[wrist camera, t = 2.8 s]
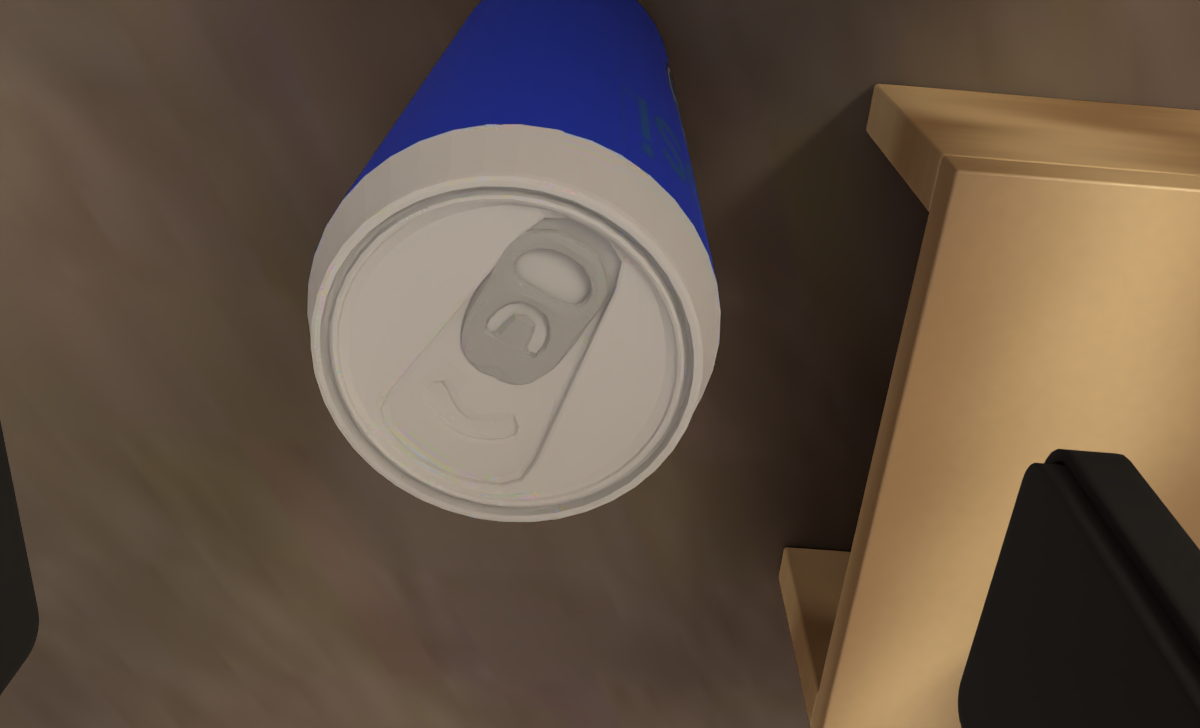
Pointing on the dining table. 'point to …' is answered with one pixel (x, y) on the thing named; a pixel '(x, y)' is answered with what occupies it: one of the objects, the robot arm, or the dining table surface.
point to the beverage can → (522, 271)
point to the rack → (1005, 374)
